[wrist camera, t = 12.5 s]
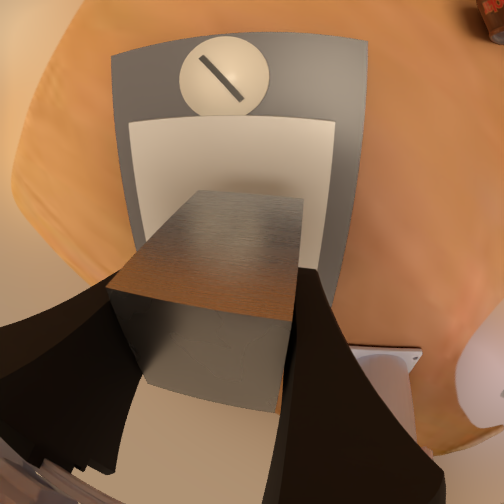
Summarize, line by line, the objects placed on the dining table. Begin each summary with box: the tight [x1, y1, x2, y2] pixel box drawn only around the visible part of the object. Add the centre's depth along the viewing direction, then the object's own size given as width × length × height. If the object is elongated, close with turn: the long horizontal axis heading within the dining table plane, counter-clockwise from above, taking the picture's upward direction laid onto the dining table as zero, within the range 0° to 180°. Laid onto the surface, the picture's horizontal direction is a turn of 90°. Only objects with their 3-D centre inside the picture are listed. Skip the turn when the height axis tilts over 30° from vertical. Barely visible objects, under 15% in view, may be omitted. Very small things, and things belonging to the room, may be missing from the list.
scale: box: [111, 32, 368, 307], centre depth 16 cm, size 21×14×2 cm, turn 0°
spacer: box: [105, 190, 304, 413], centre depth 9 cm, size 4×4×6 cm
